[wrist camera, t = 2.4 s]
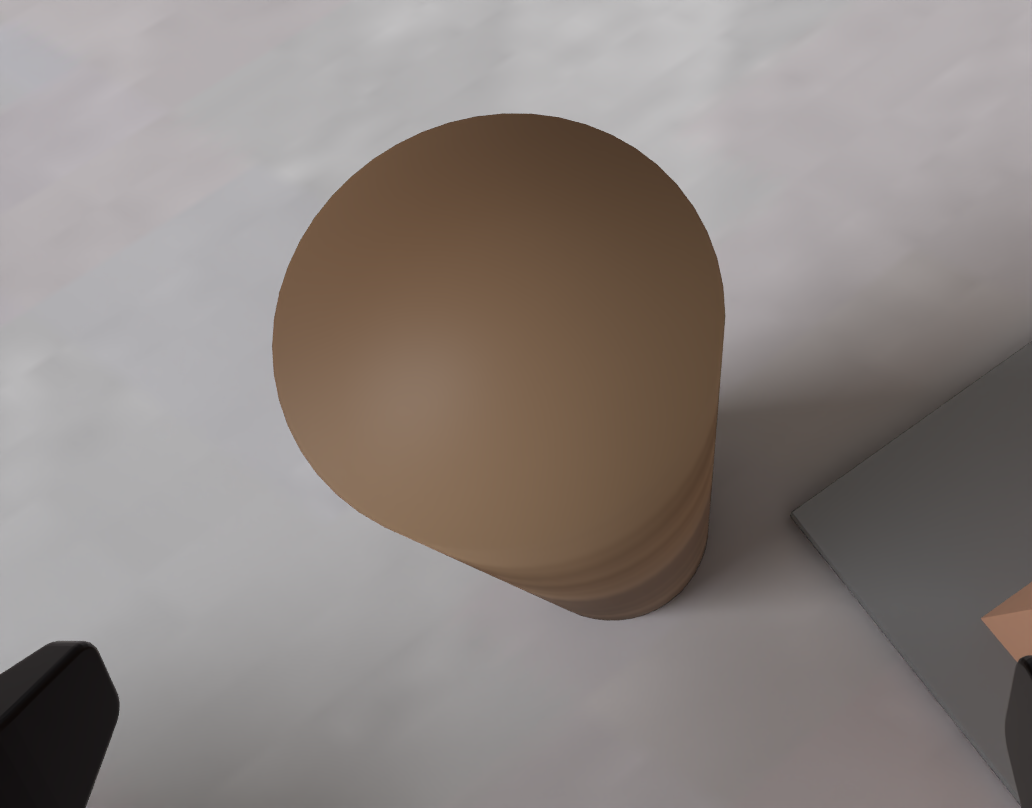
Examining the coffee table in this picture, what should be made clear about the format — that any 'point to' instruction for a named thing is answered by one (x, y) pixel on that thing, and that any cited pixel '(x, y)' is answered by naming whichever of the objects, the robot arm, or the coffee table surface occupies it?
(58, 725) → the robot arm
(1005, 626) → the socket block
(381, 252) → the walnut peg
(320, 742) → the coffee table surface
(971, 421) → the mat
